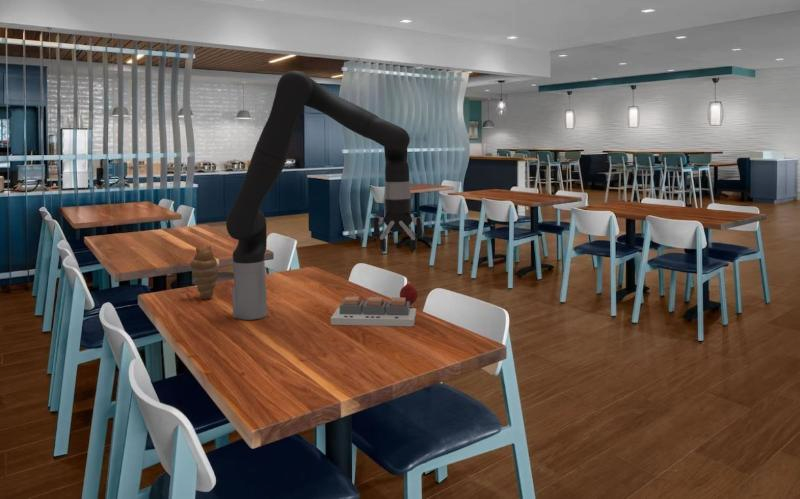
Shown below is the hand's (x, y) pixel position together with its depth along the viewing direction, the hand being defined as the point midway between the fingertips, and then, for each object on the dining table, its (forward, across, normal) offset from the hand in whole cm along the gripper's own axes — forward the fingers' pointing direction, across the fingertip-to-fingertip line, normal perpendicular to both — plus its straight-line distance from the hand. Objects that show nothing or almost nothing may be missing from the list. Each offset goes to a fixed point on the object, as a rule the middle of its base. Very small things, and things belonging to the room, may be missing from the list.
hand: (398, 251), depth 178 cm
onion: (+20, 0, +13) cm, 24 cm away
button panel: (+20, -7, -4) cm, 21 cm away
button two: (+16, -14, -3) cm, 21 cm away
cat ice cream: (+19, -69, +11) cm, 72 cm away
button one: (+16, 0, -1) cm, 16 cm away
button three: (+16, -7, -2) cm, 18 cm away
